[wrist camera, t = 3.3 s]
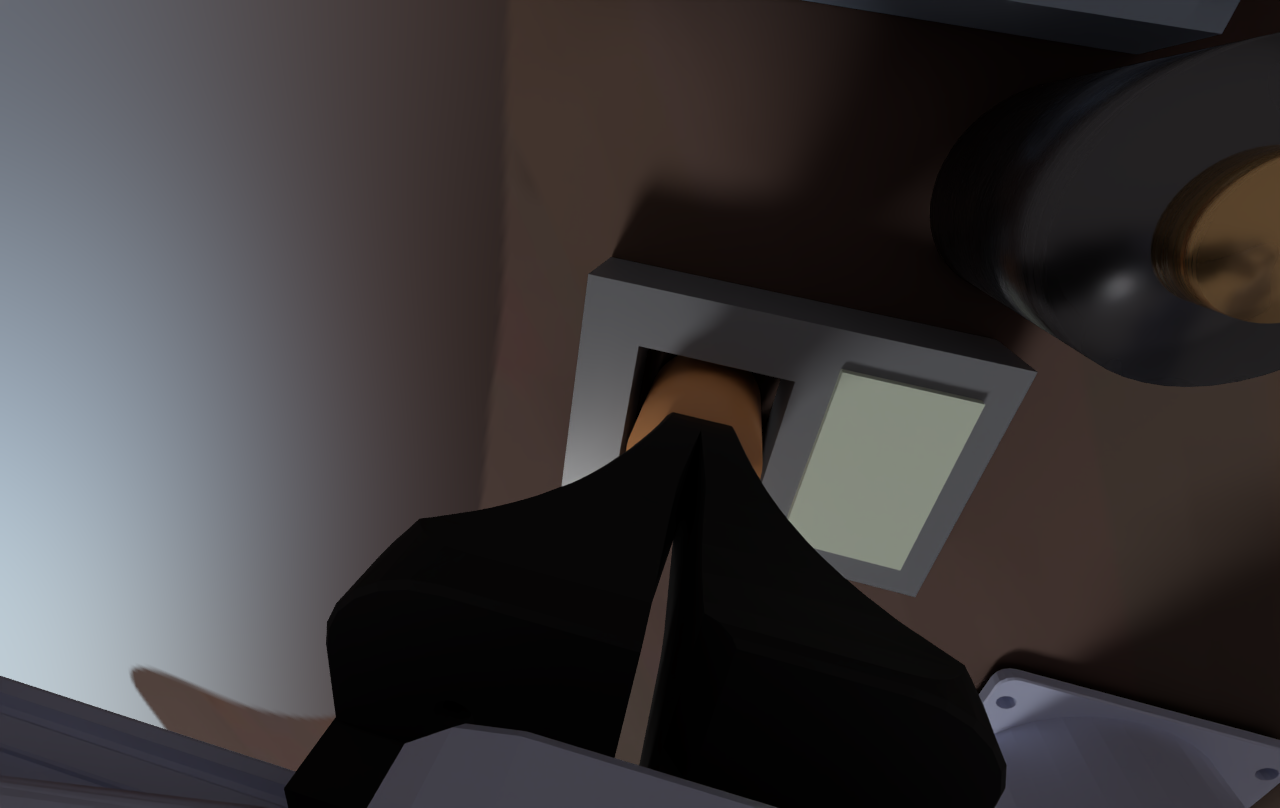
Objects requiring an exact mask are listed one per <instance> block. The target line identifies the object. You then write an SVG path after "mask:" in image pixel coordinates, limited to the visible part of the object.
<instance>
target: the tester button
mask: <svg viewBox="0 0 1280 808" xmlns="http://www.w3.org/2000/svg"><path fill="white" fill-rule="evenodd" d="M672 412H675V413H679V414H683V415H688V416H692V417H696V418H700V419H704V420H709V421H713V422H717V423H721V424H725V425H730V426H732V427H733V428H734V430H735V432H736V434H737V436H738V438H739V441H740V443H741V445H742V447H743V449H744V451H745V453H746V455H747V457H748V459H749V461H750V463H751V465H752V466H753V468H754V470H755V472H756V473H757V475H758V477H759V478H761V474H762V465H763V459H762V419H761V395H760V390H759V387H758V384H757V382H756V380H755V378H754V376H753V375H752V373H751V372H750V371H746V370H741V369H737V368H733V367H728V366H724V365H720V364H715V363H711V362H707V361H702V360H698V359H694V358H689V357H685V356H680V355H678V356H676V357H674V358H673V359H671V360H670V361H668V362H667V363H666V364H665V365H664V366H663V367H662V368H661V369H660V371H659V372H658V374H657V375H656V377H655V379H654V381H653V384H652V386H651V388H650V391H649V393H648V395H647V398H646V400H645V402H644V405H643V407H642V409H641V411H640V414H639V416H638V418H637V421H636V423H635V425H634V428H633V430H632V432H631V435H630V437H629V439H628V443H627V448H626V451H627V450H629V449H630V448H631V447H633V446H634V445H635V444H636V443H638V442H639V441H640V440H641V439H643V438H644V437H645V436H646V435H648V434H649V433H650V432H651V431H652V430H653V429H654V428H655V427H656V426H657V425H658V424H659V423H660V422H661V421H662V420H663V419H664V418H665V417H666V416H667V415H669V414H670V413H672Z"/></svg>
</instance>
